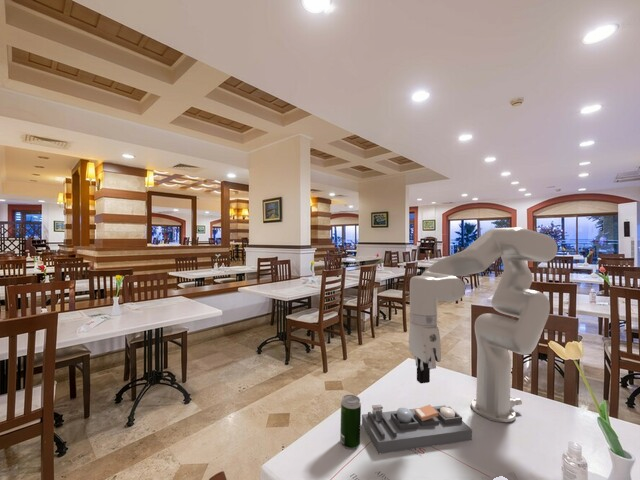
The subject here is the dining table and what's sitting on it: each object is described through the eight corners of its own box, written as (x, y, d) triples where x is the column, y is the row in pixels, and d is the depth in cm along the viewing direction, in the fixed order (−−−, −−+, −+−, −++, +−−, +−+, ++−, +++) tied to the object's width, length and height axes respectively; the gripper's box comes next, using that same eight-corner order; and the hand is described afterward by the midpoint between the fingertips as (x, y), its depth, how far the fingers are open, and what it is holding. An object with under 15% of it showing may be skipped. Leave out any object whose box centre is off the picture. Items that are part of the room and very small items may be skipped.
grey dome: (407, 413, 86) (407, 407, 86) (414, 422, 82) (414, 415, 82) (394, 415, 85) (394, 408, 85) (401, 423, 81) (401, 416, 81)
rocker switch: (430, 407, 87) (429, 404, 87) (438, 415, 83) (437, 412, 83) (414, 412, 86) (414, 409, 86) (422, 421, 82) (421, 417, 82)
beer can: (348, 453, 75) (349, 407, 75) (336, 441, 79) (337, 397, 79) (364, 445, 78) (365, 401, 78) (351, 434, 82) (352, 392, 82)
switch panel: (444, 414, 93) (445, 400, 93) (471, 440, 81) (472, 424, 81) (361, 424, 87) (362, 409, 87) (378, 453, 75) (378, 436, 75)
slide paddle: (379, 415, 86) (380, 403, 86) (383, 420, 84) (383, 408, 84) (371, 416, 86) (371, 404, 86) (374, 421, 83) (374, 409, 83)
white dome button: (448, 412, 89) (449, 406, 89) (457, 421, 85) (457, 414, 85) (437, 414, 88) (437, 407, 88) (445, 422, 84) (445, 415, 84)
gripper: (451, 325, 78) (451, 393, 78) (420, 311, 92) (420, 368, 93) (426, 327, 76) (426, 397, 76) (399, 313, 91) (399, 371, 91)
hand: (423, 381), depth 84 cm, fingers closed
